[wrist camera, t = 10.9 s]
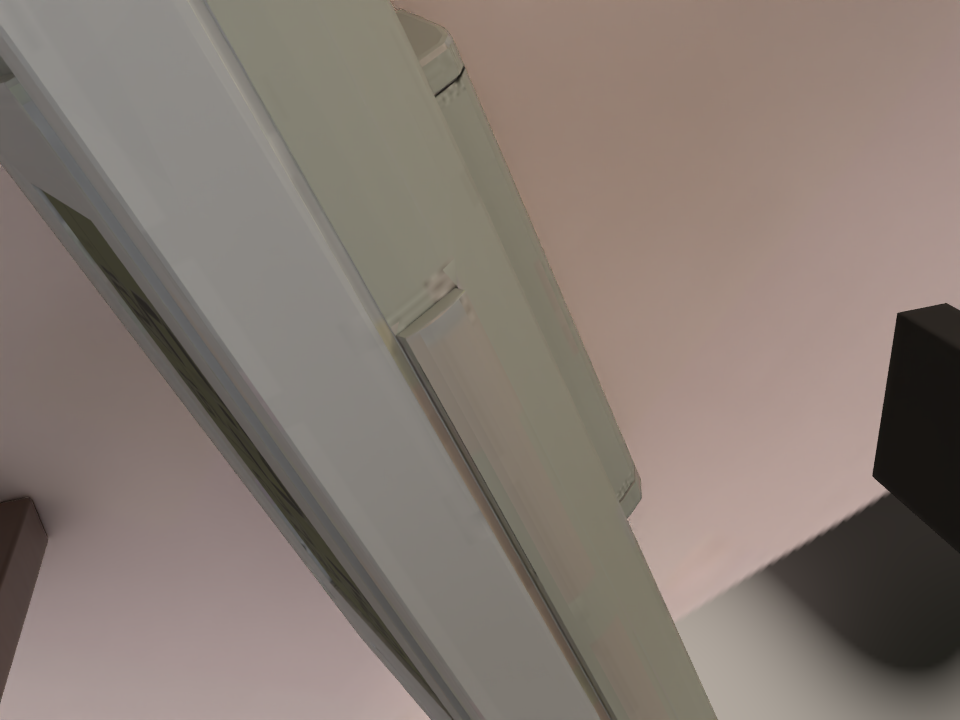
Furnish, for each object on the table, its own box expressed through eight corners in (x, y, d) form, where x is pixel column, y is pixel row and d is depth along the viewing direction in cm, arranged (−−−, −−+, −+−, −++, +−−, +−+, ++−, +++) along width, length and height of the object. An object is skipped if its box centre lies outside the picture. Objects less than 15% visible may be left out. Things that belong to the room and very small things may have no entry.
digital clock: (-112, -78, 13) (-952, -100, 4) (455, -211, 14) (888, -480, 5) (252, 656, 21) (271, 1231, 12) (597, 533, 22) (864, 969, 13)
